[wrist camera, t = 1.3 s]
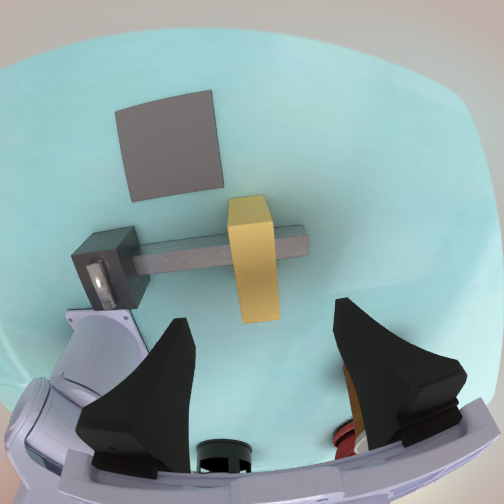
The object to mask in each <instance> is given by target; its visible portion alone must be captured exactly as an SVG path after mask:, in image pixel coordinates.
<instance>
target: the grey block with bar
mask: <svg viewBox="0 0 504 504" xmlns="http://www.w3.org/2000/svg"><path fill="white" fill-rule="evenodd" d="M274 239H275V252H276V259H282V258H290V257H298V256H306V255H309V245H308V234H307V232H306V230H305V229H304V227H303V225H296V226H287V227H279V228H274ZM71 257H72V260H73V263H74V265H75V268H76V270H77V273H78V275H79V278H80V280H81V283H82V285H83V287H84V290H85V292H86V294H87V296H88V299H89V301H90V303H91V305H92V307H93V309H94V311H109V310H126V309H137V308H138V306H139V304H140V301H141V299H142V297H143V295H144V292H145V290H146V288H147V286H148V283H149V281H150V279H149V276H148V274H155V273H164V272H172V271H181V270H190V269H199V268H207V267H216V266H224V265H233V259H232V253H231V247H230V240H229V234H221V235H213V236H205V237H197V238H190V239H182V240H175V241H168V242H160V243H153V244H146V245H139V243H138V239H137V236H136V232H135V228H134V226H131V227H126V228H120V229H114V230H108V231H103V232H97V233H93V234H92V235H91V236H90V237H89V238H88V239H87V240H86V241H85V242H84V243H83V244H82V245H81V246H80V247H79V248H78V249H77V250H76V251H75V252H74V253H73V254H72V255H71Z"/></svg>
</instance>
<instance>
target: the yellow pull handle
mask: <svg viewBox="0 0 504 504" xmlns="http://www.w3.org/2000/svg"><path fill="white" fill-rule="evenodd" d="M227 227H228V234H229V240H230V247H231V253H232V259H233V266H234V272H235V278H236V284H237V290H238V296H239V302H240V308H241V314H242V320H243V324H248V323H256V322H265V321H272V320H280V308H279V293H278V279H277V265H276V252H275V239H274V227H273V220H272V217H271V214H270V211H269V209H268V206H267V203H266V200H265V197H264V195H257V196H248V197H240V198H232V199H229V210H228V226H227Z"/></svg>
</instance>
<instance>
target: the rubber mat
mask: <svg viewBox="0 0 504 504" xmlns="http://www.w3.org/2000/svg"><path fill="white" fill-rule="evenodd" d="M115 117H116V124H117V131H118V137H119V143H120V148H121V154H122V159H123V164H124V169H125V174H126V179H127V183H128V188H129V192H130V197H131V201H132V202H137V201H142V200H148V199H153V198H159V197H165V196H171V195H177V194H183V193H189V192H196V191H202V190H209V189H216V188H224V183H223V176H222V168H221V161H220V154H219V146H218V139H217V131H216V124H215V116H214V108H213V100H212V92H211V90H208V91H202V92H196V93H190V94H185V95H180V96H175V97H170V98H165V99H161V100H157V101H152V102H148V103H144V104H141V105H137V106H133V107H130V108H126V109H123V110H119V111H116V112H115Z"/></svg>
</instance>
